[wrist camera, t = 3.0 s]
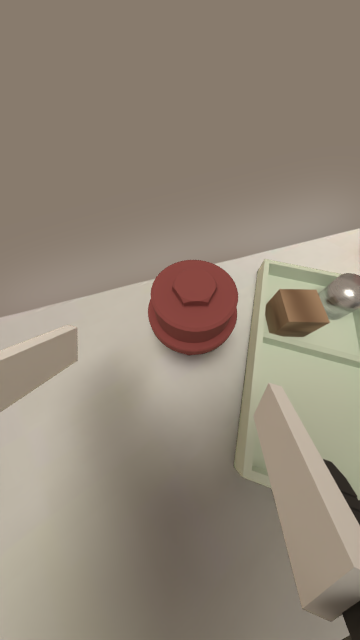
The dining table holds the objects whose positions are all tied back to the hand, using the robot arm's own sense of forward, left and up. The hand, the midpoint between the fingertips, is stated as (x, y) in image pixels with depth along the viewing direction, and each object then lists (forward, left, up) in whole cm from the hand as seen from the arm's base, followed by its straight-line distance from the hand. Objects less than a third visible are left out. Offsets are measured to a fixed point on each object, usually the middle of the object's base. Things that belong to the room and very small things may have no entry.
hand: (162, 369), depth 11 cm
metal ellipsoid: (-21, -19, -12) cm, 31 cm away
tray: (-17, -9, -13) cm, 23 cm away
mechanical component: (0, -8, -13) cm, 15 cm away
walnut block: (-14, -14, -12) cm, 23 cm away
